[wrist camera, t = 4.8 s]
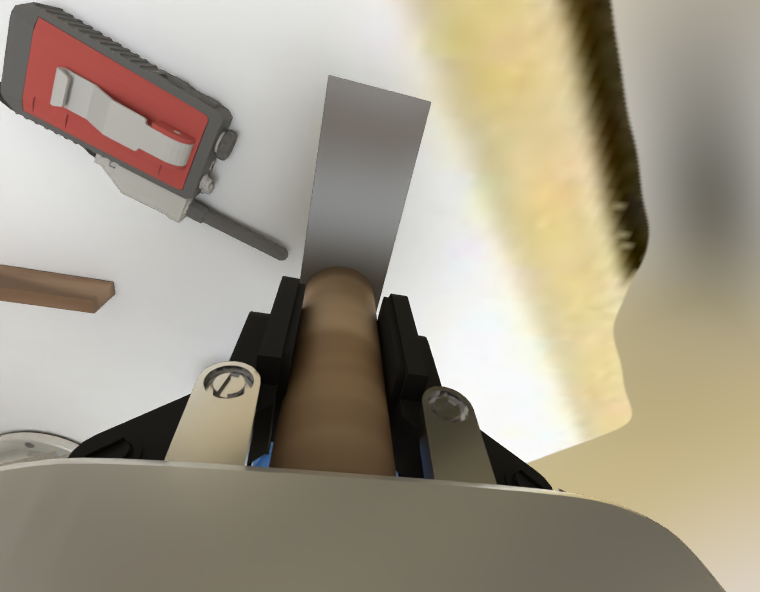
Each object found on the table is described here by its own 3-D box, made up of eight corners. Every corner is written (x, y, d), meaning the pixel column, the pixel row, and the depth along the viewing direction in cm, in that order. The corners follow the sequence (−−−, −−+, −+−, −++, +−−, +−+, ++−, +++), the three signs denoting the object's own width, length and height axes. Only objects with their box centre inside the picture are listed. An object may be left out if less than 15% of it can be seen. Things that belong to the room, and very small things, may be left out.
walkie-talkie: (10, 125, 25) (284, 260, 32) (-50, 133, 22) (275, 285, 28) (31, -15, 22) (333, 168, 28) (-36, -35, 18) (331, 183, 24)
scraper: (345, 360, 22) (344, 658, 11) (293, 354, 21) (234, 660, 10) (407, 95, 15) (577, 139, 4) (334, 76, 15) (292, 65, 3)
